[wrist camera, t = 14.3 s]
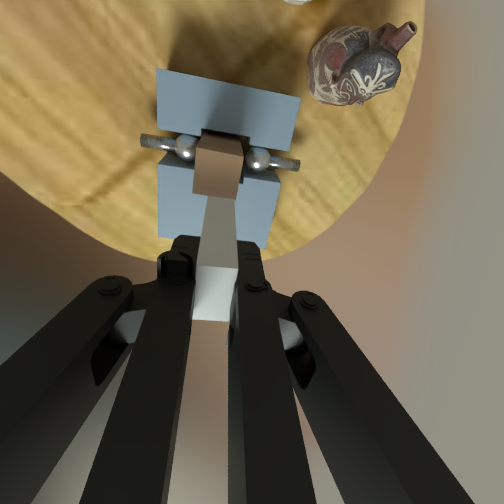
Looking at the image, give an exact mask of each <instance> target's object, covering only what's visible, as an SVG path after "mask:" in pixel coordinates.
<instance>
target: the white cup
mask: <svg viewBox="0 0 504 504" xmlns="http://www.w3.org/2000/svg"><path fill="white" fill-rule="evenodd" d="M284 1H285V2H286V3H291V4H296V5H303V4H305V3H308V2H310V1H312V0H284Z"/></svg>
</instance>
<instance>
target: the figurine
mask: <svg viewBox="0 0 504 504" xmlns="http://www.w3.org/2000/svg"><path fill="white" fill-rule="evenodd" d="M416 32H417V26H416V24H414V23H413V22H411V21H409V22H406V23H405V24H404V25H402V26H401V27H400V28H398V29H397V28H396V27H395V26H394V25H392V24H390V23H386V24H385V25H383V26H382V27H380V28H378V29H377V30H375V31H373V30H371V29H369V28H365V27H361V26H357V25H353V26H341V27H338V28H336V29H333V30H331V31H330V32H328V33H327V34H326V35H324V36H323V37H322V38H321V39H320V40H319V41H318V42H317V43H316V44H315V46H314V47H313V49H312V50H311V52H310V54H309V57H308V60H307V78H308V90H309V94H310V95H311V96H313V97H314V98H315V99H316V100H317V102H319V103H320V104H328V105H334V106H345V105H352V104H353V103H355V104H356V105H357V106H362V105H363V104H364V103H363V101H366V100H368V99H370V98H372V97H373V96H375V95H377V94H380V93H384V92H387V91H390V90H392V89H394V87H395V85H396V82H397V80H398V78H399V75H400V72H401V64H400V61H399V59H398V58H397V55H398V52H399V51H400V50H401V48H402V47H403V46H404V45H405V44H406V43H407V42H408V41H409V40H410V39H411V38H412V37H413V36H414V35H415V34H416Z"/></svg>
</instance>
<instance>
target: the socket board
mask: <svg viewBox="0 0 504 504" xmlns="http://www.w3.org/2000/svg"><path fill="white" fill-rule="evenodd" d="M300 101H301V98H299V97H295V96H290V95H285V94H280V93H275V92H271V91H266V90H261V89H256V88H251V87H247V86H242V85H237V84H232V83H227V82H223V81H218V80H213V79H208V78H203V77H198V76H194V75H189V74H184V73H179V72H174V71H170V70H165V69H160V68H157V129H162V130H168V131H173V132H179V133H185V134H191V135H196V136H201V135H202V133H203V131H204V129H210V130H215V131H221V132H226V133H232V134H238V135H243V136H247V139H248V142H249V145H254V146H260V147H266V148H271V149H277V150H283V151H289V148H290V143H291V139H292V135H293V131H294V127H295V122H296V118H297V114H298V110H299V106H300ZM194 167H195V160H194V161H191V162H187V161H184V160H182V159H180V158H179V157H178V156H177V155H171V154H166V155H165V156H164V157H163V158H162V160H161V161H160V162H159V163H158V237H163V238H172V239H175V238H176V237H178V236H179V235H180V234H182V235H191V236H200V237H201V233H202V227H203V221H204V215H205V209H206V203H207V197H208V196H205V195H199V194H193V193H192V189H193V178H194ZM280 185H281V182H280V180H279V178H278V176H277V174H276V173H275V171H271V170H265V171H263V172H258V173H257V172H253V171H251V170H250V169H249V168H248V167H246V166H242V170H241V176H240V181H239V186H238V192H237V197H236V201H235V200H234V202H235V219H236V236H237V240H242V241H251V242H255V243H256V245H257V246H258V247H259V248H261V249H265V248H266V244H267V240H268V236H269V232H270V227H271V223H272V219H273V215H274V211H275V206H276V202H277V198H278V194H279V190H280Z"/></svg>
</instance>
